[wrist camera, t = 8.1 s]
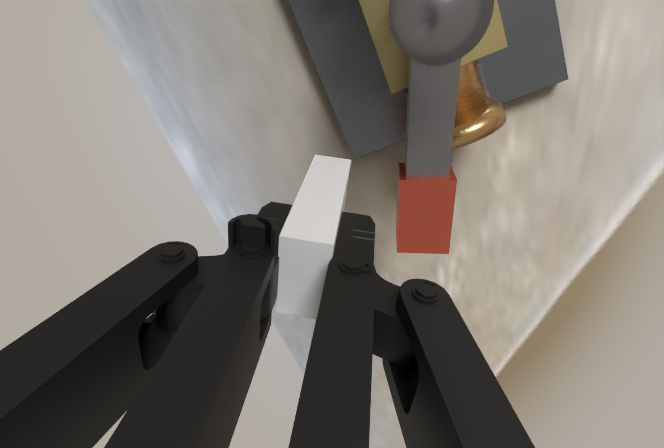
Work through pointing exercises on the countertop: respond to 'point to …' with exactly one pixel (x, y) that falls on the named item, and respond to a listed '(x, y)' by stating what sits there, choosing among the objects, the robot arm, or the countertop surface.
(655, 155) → the countertop surface
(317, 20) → the valve
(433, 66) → the lever
